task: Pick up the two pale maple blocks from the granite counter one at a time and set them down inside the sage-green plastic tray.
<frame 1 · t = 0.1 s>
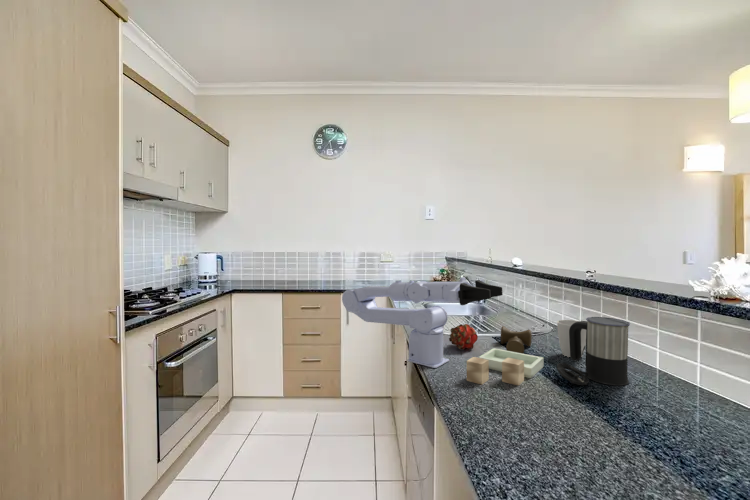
hand: (496, 292, 89), 22 cm above the worktop, tool horizontal, fingers open, 7 cm apart
tray: (510, 366, 98), on the worktop
milk frother: (592, 381, 88), on the worktop
cup: (572, 356, 107), on the worktop
kendama: (515, 348, 116), on the worktop
maple block 1: (513, 381, 88), on the worktop
maple block 2: (477, 380, 88), on the worktop
dragon fruit: (463, 348, 116), on the worktop
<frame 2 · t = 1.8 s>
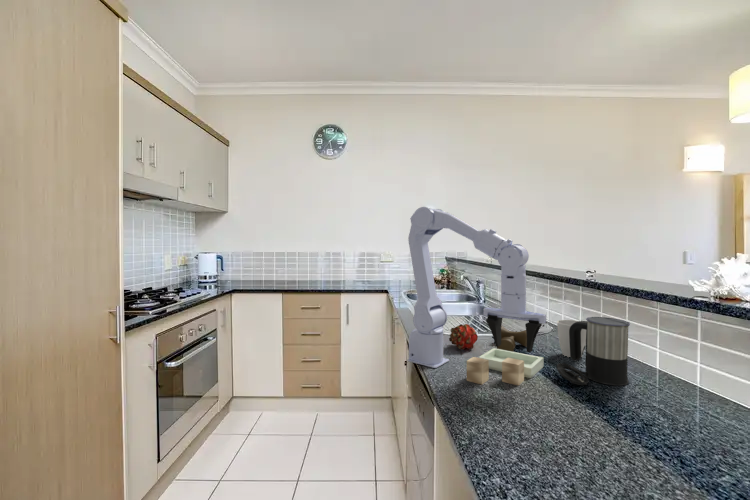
hand: (513, 348, 87), 8 cm above the worktop, tool pointing down, fingers open, 7 cm apart
kendama: (510, 348, 116), on the worktop
everything else where it was.
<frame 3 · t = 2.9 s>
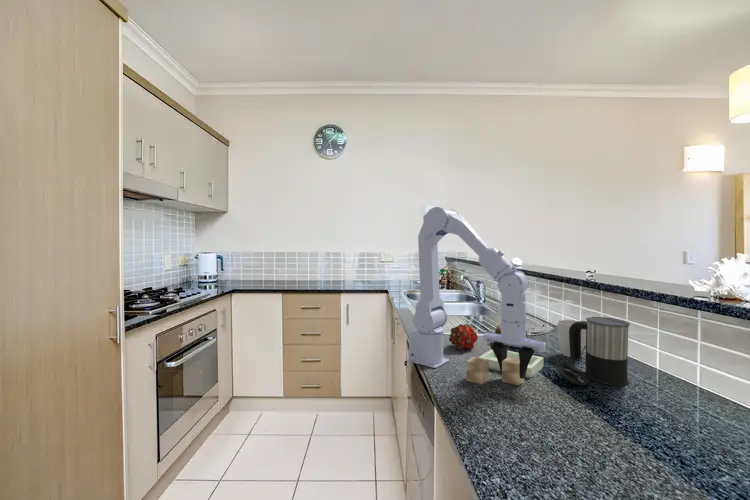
hand: (513, 375, 88), 1 cm above the worktop, tool pointing down, fingers closed on maple block 1, 4 cm apart
maple block 1: (513, 380, 88), on the worktop, touching gripper
when the fingers open (3 cm above the worktop, at t = 5.8 s): maple block 1 stays where it is, point 1 cm above the worktop.
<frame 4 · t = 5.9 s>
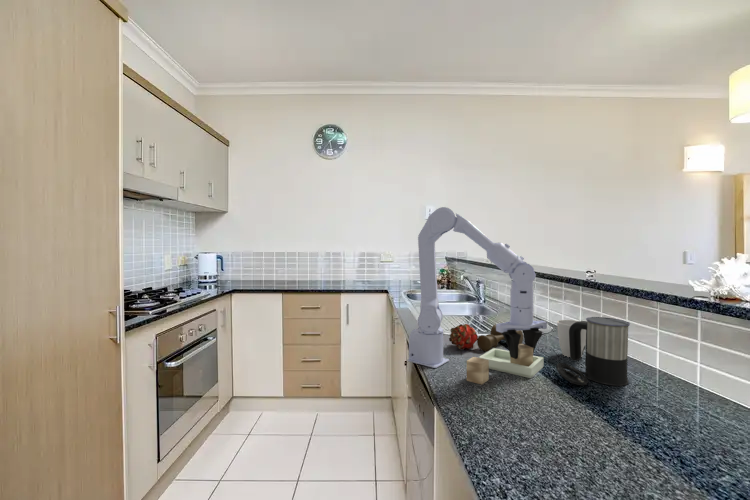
hand: (521, 356, 96), 3 cm above the worktop, tool pointing down, fingers open, 4 cm apart
kendama: (500, 346, 118), on the worktop
maple block 1: (521, 364, 96), point 1 cm above the worktop
everything else where it was.
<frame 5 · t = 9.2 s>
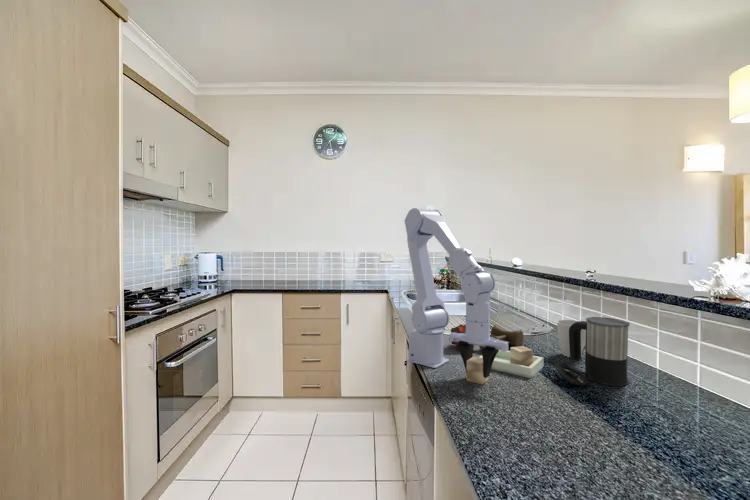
hand: (477, 374, 88), 1 cm above the worktop, tool pointing down, fingers closed on maple block 2, 4 cm apart
maple block 1: (521, 367, 96), point 1 cm above the worktop, touching tray
maple block 2: (477, 380, 88), on the worktop, touching gripper
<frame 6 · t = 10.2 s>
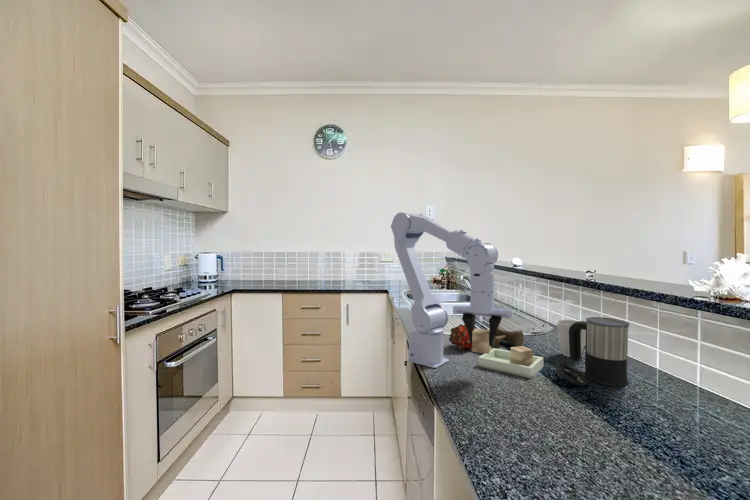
hand: (481, 344, 90), 8 cm above the worktop, tool pointing down, fingers closed on maple block 2, 4 cm apart
maple block 2: (481, 350, 90), point 7 cm above the worktop, touching gripper
everything else where it was.
when the fingers open (3 cm above the worktop, at t = 12.2 s): maple block 2 drops 1 cm, resting on tray.
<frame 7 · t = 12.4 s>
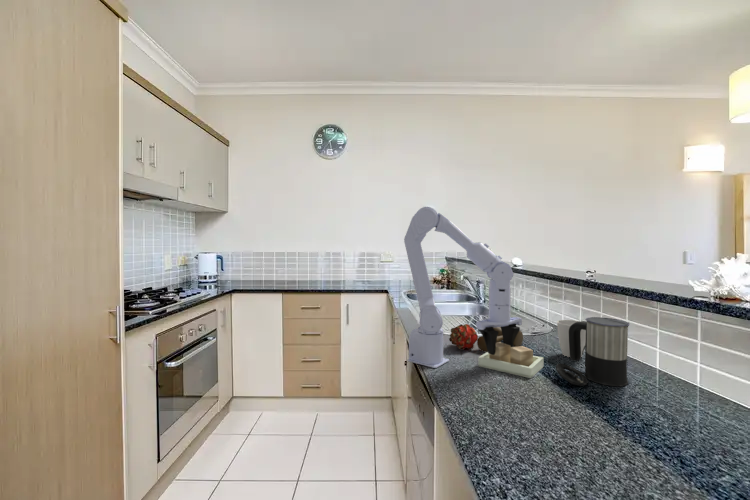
hand: (499, 352, 99), 3 cm above the worktop, tool pointing down, fingers open, 5 cm apart
maple block 2: (499, 362, 99), point 1 cm above the worktop, touching tray
everything else where it was.
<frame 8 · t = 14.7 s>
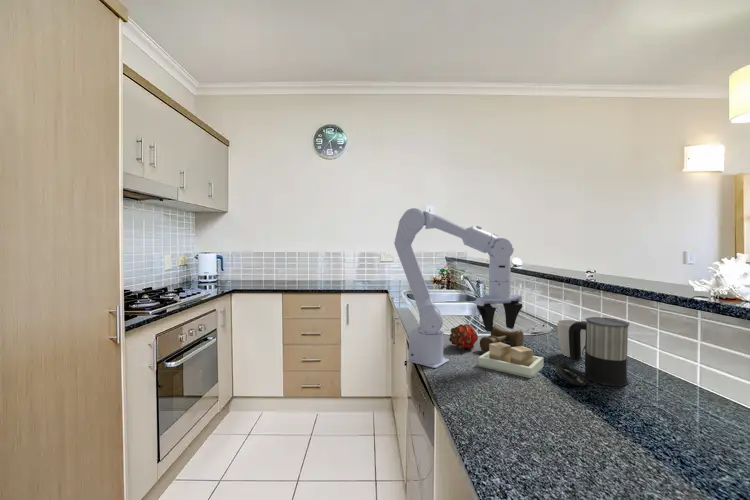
hand: (499, 329, 99), 10 cm above the worktop, tool pointing down, fingers open, 7 cm apart
at the end: maple block 1 inside the target area on the tray (3.0 cm from its centre), point 0.6 cm above the tray's base; maple block 2 inside the target area on the tray (2.9 cm from its centre), point 0.6 cm above the tray's base; the gripper is holding nothing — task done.
